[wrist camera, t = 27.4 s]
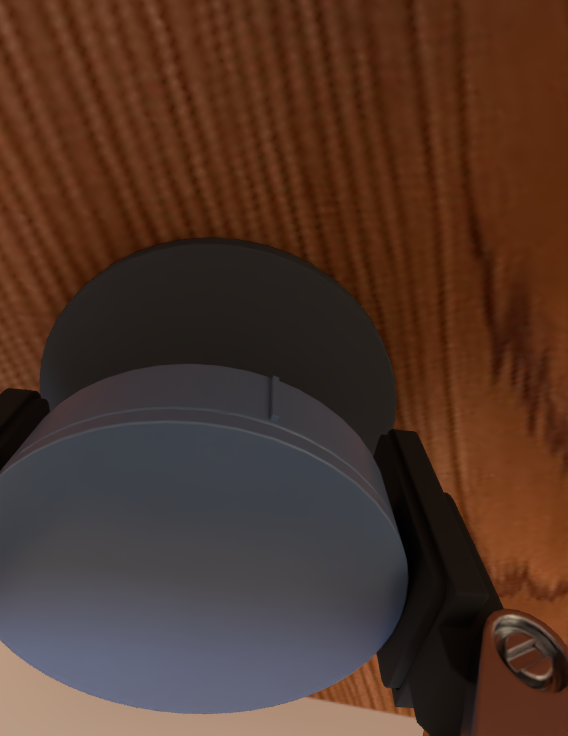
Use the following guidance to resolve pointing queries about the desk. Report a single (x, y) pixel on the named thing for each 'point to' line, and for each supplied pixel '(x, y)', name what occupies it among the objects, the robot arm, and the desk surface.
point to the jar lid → (197, 543)
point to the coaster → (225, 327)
